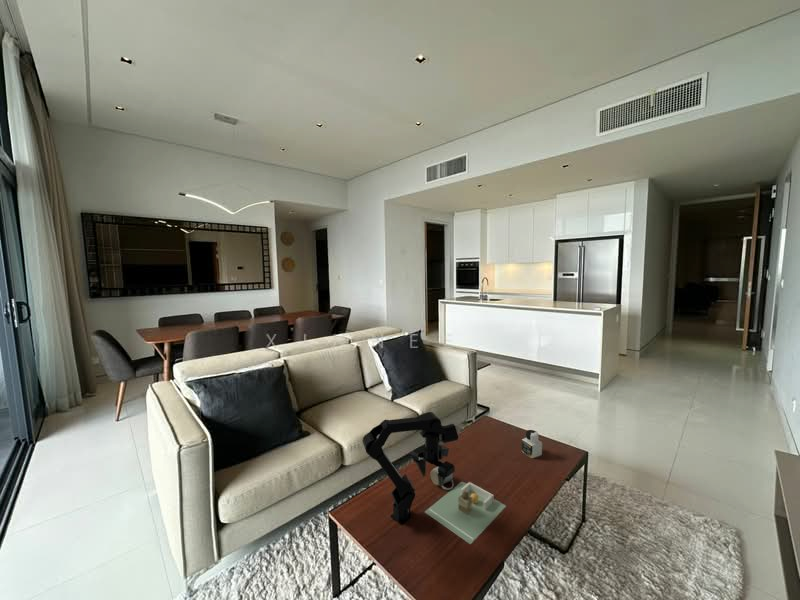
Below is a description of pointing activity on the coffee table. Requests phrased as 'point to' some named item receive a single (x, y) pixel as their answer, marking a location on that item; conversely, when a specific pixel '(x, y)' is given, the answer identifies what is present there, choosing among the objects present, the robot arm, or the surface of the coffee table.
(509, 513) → the coffee table surface
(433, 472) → the ceramic mug
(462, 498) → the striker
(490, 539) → the coffee table surface
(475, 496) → the ball
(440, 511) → the pitch mat
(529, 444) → the medicine bottle
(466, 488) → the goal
